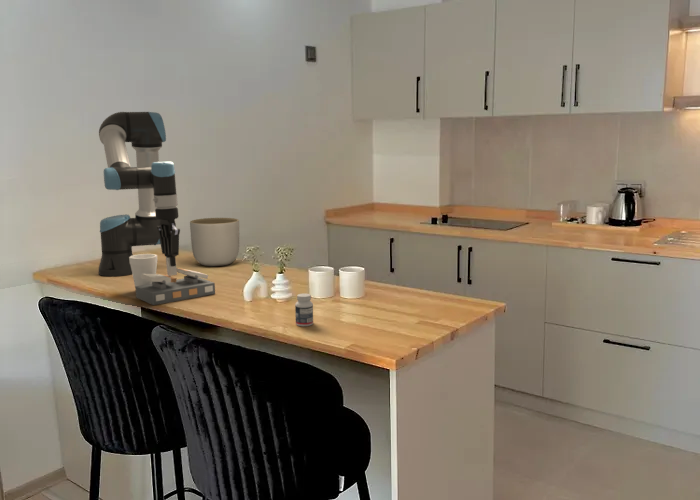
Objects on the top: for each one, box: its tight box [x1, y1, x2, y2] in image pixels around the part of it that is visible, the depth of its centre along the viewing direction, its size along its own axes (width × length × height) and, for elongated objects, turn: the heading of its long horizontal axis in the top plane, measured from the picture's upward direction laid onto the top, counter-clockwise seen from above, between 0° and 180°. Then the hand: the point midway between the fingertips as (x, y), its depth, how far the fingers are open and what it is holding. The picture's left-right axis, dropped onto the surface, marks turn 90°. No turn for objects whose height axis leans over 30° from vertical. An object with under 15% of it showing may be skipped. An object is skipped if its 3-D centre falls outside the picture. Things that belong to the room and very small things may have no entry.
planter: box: [189, 217, 240, 267], centre depth 282 cm, size 21×21×19 cm
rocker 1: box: [141, 273, 177, 284], centre depth 223 cm, size 8×9×2 cm
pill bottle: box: [294, 293, 314, 327], centre depth 192 cm, size 5×5×9 cm
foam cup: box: [129, 253, 158, 287], centre depth 233 cm, size 10×9×13 cm
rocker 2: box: [176, 267, 209, 280], centre depth 231 cm, size 8×9×2 cm
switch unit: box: [134, 275, 216, 306], centre depth 228 cm, size 14×23×6 cm, turn 131°
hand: (172, 274), depth 226 cm, fingers closed
